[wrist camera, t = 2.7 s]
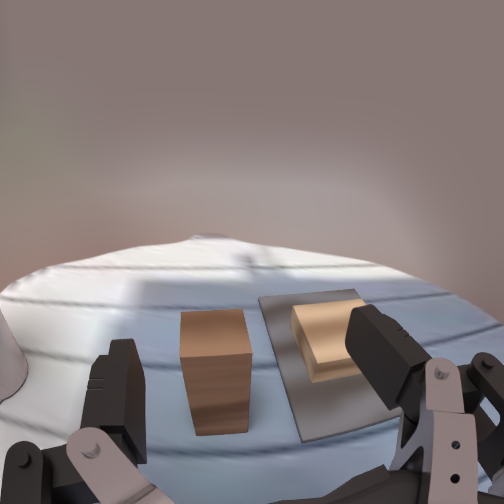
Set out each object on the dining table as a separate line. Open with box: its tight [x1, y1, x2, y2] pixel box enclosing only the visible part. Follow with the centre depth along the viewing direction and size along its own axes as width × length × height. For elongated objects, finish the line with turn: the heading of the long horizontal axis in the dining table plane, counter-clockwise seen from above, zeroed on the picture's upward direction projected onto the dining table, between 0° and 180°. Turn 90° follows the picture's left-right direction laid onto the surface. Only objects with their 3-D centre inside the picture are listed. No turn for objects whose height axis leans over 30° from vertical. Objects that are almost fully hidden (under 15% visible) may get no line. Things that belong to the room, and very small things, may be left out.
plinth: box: [258, 289, 402, 443], centre depth 35 cm, size 24×16×4 cm, turn 9°
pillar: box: [180, 309, 252, 436], centre depth 25 cm, size 5×5×12 cm
